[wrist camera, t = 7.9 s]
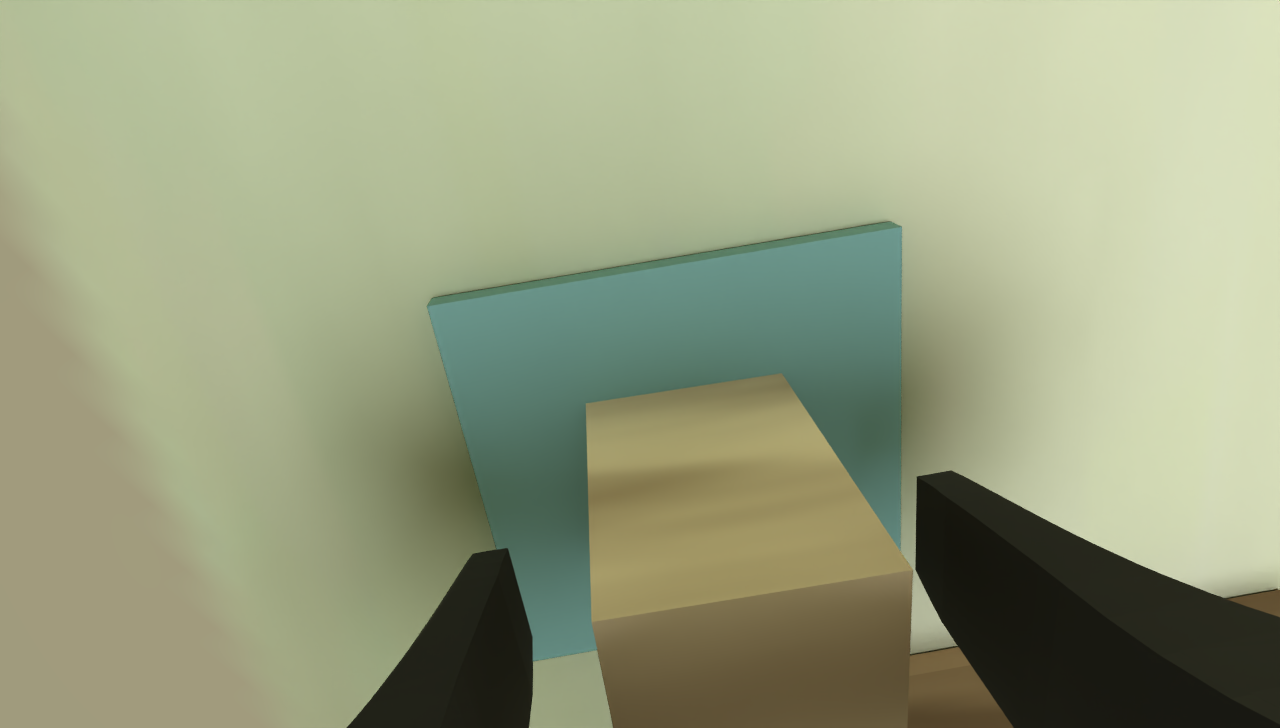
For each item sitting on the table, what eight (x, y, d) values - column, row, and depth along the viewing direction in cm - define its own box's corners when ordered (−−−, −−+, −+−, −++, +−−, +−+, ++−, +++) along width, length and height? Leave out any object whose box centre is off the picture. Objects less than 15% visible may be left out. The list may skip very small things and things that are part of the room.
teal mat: (891, 582, 17) (900, 596, 17) (530, 646, 17) (529, 662, 17) (890, 221, 14) (901, 227, 13) (431, 297, 13) (427, 306, 13)
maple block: (790, 533, 16) (905, 785, 10) (614, 561, 16) (635, 831, 10) (781, 373, 14) (912, 570, 9) (585, 403, 14) (591, 621, 8)
